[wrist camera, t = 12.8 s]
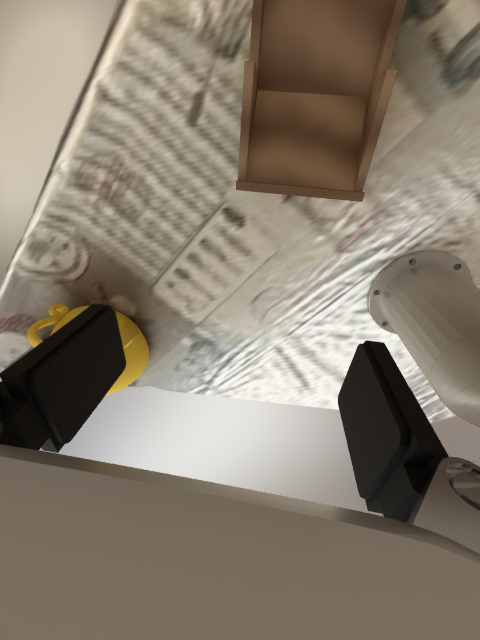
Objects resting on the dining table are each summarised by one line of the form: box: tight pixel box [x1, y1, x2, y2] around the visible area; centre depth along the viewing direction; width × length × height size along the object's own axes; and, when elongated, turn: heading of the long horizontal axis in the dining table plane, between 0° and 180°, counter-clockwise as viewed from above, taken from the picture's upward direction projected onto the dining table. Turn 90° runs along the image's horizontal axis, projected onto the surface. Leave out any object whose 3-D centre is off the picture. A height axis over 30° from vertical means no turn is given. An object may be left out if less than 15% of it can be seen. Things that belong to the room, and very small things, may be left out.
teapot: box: [27, 303, 149, 396], centre depth 43 cm, size 20×19×13 cm
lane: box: [236, 0, 407, 202], centre depth 22 cm, size 27×13×7 cm, turn 176°
